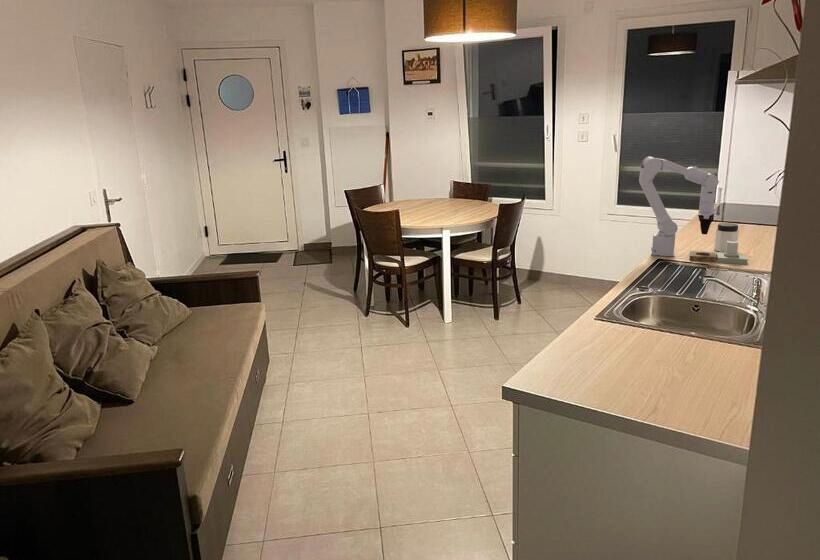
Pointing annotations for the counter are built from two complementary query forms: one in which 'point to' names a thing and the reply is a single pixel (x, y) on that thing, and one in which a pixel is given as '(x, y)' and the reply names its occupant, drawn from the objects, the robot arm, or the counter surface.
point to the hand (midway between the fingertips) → (703, 232)
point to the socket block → (702, 256)
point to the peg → (731, 249)
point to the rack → (731, 258)
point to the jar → (725, 235)
